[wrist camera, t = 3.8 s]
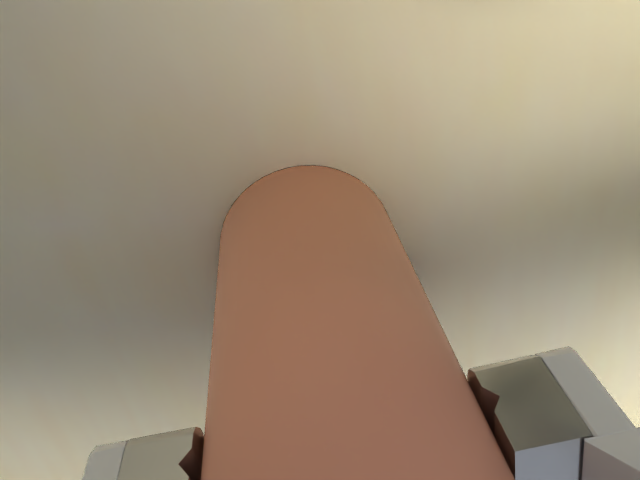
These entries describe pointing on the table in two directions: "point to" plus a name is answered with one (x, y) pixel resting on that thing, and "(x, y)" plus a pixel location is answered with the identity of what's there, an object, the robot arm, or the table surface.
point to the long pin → (332, 347)
